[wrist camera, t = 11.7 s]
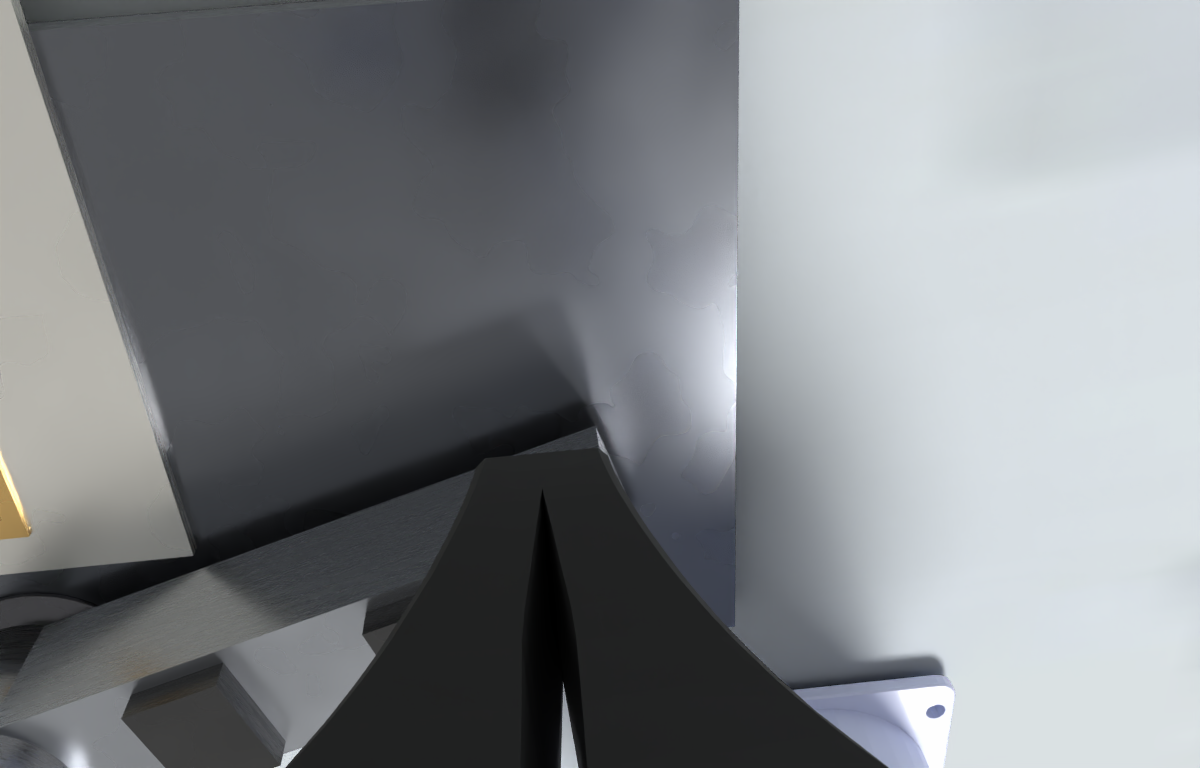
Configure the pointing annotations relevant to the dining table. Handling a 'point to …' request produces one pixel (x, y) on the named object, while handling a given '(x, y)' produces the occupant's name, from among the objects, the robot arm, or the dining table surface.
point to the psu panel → (356, 273)
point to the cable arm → (227, 645)
